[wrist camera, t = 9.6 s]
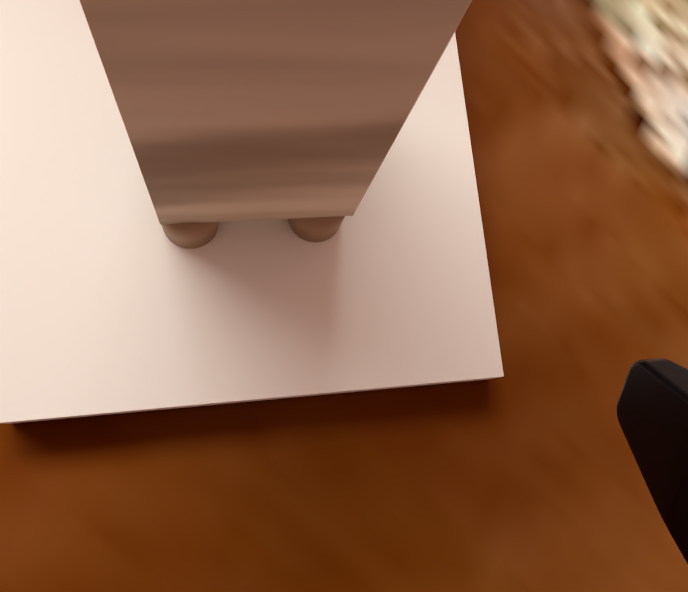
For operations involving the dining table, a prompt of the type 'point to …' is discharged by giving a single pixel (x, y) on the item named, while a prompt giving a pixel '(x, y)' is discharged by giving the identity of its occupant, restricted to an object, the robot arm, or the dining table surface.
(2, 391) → the peg stand
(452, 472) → the dining table surface
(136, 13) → the birch block
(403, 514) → the dining table surface
